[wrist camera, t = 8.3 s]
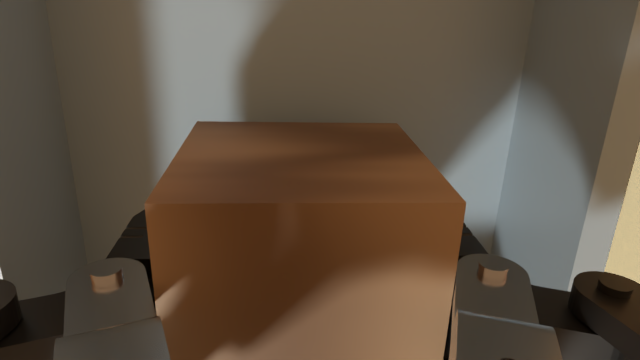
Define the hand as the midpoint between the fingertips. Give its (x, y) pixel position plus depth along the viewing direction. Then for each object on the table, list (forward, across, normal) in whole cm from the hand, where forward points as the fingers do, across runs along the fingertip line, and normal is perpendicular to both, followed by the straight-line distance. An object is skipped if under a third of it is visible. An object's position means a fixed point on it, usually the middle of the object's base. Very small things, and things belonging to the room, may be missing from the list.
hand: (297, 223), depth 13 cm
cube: (0, 0, 0) cm, 0 cm away
